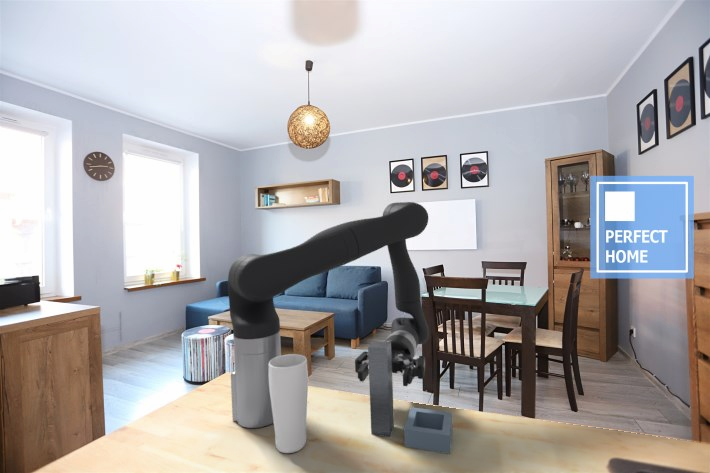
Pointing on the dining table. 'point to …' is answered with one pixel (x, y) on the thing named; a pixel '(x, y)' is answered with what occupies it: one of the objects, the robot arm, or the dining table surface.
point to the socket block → (428, 430)
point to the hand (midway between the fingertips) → (382, 378)
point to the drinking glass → (289, 400)
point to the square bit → (381, 388)
